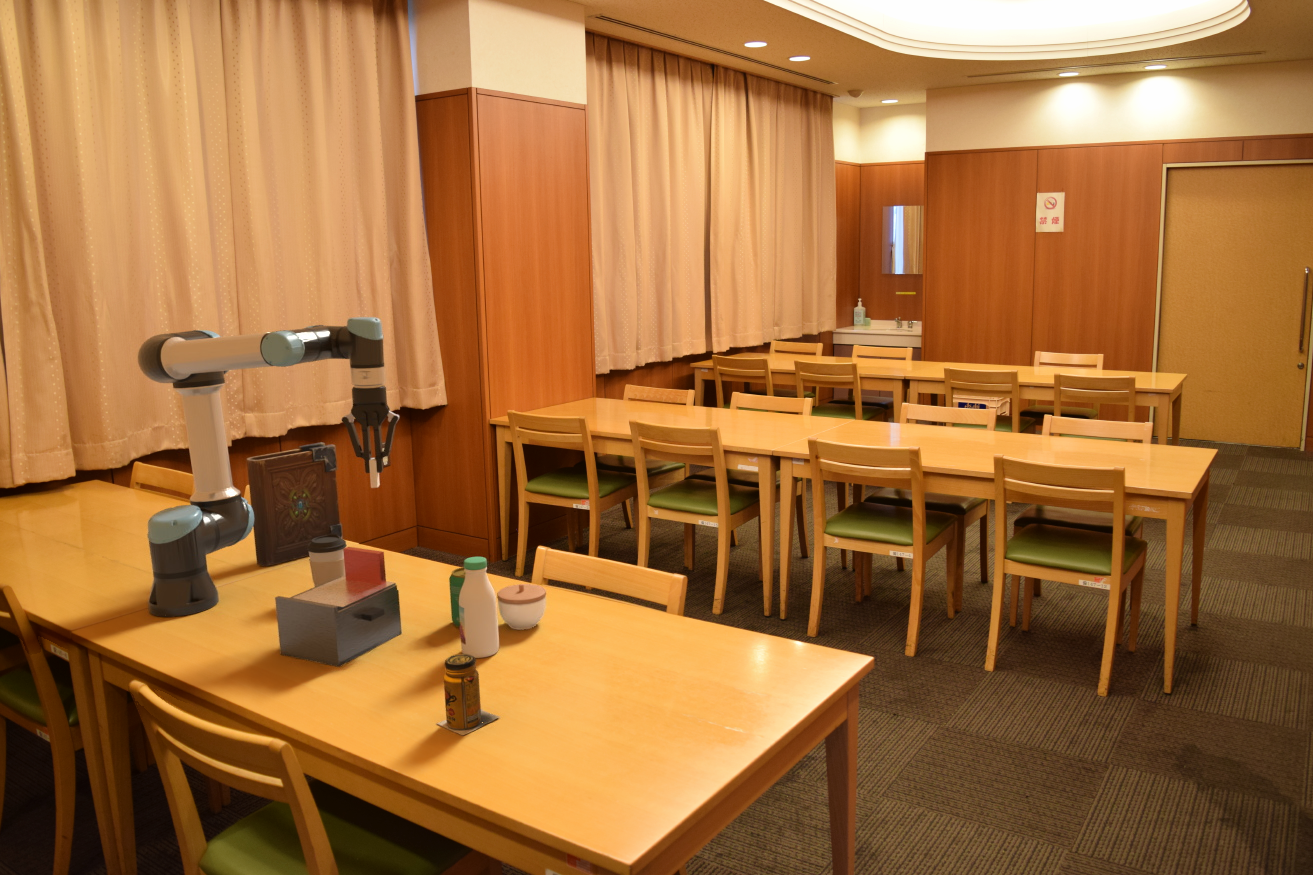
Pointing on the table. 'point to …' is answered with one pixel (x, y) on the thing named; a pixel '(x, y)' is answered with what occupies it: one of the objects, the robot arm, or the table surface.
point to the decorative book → (293, 501)
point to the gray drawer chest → (337, 627)
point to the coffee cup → (326, 558)
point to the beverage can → (456, 593)
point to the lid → (353, 580)
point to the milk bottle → (478, 611)
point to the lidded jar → (522, 605)
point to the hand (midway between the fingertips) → (375, 486)
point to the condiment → (463, 696)
